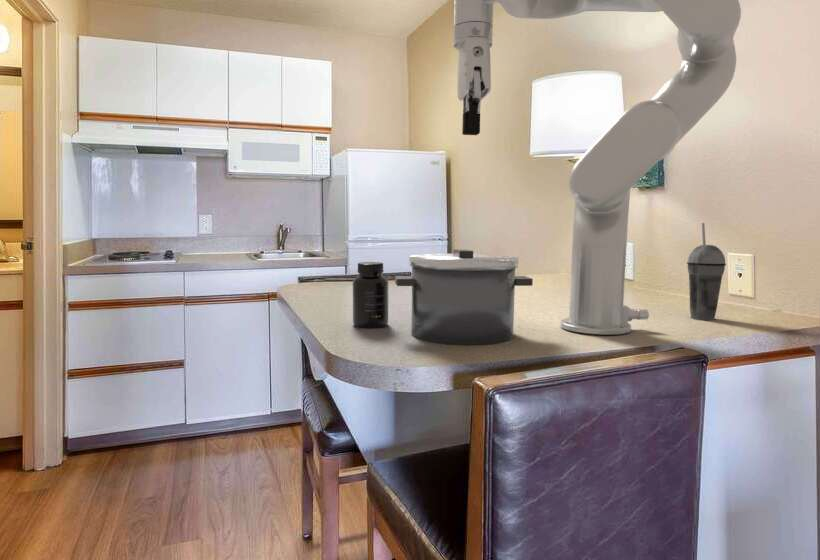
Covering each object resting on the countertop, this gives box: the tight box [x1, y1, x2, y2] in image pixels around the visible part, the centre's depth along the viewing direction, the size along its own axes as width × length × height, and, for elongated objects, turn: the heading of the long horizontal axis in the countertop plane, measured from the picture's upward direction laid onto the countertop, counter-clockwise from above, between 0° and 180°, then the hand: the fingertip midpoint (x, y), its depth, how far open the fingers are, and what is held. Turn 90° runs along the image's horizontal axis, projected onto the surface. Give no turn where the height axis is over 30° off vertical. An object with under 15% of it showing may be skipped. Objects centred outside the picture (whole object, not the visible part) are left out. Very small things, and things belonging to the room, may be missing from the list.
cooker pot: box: [394, 266, 534, 346], centre depth 98 cm, size 24×18×12 cm
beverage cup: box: [686, 222, 727, 321], centre depth 116 cm, size 7×7×20 cm
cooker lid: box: [408, 248, 519, 271], centre depth 97 cm, size 19×19×3 cm
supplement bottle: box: [352, 261, 389, 329], centre depth 106 cm, size 7×7×12 cm
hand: (471, 134), depth 110 cm, fingers closed
